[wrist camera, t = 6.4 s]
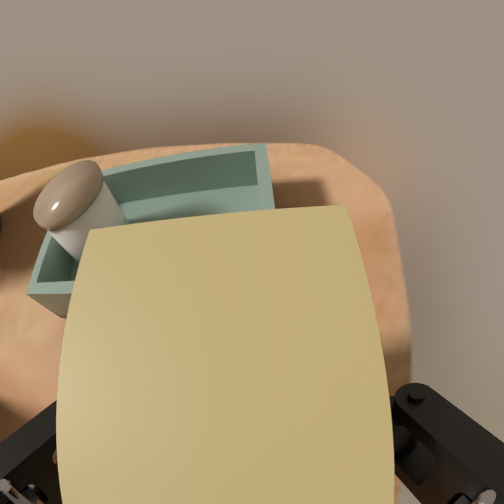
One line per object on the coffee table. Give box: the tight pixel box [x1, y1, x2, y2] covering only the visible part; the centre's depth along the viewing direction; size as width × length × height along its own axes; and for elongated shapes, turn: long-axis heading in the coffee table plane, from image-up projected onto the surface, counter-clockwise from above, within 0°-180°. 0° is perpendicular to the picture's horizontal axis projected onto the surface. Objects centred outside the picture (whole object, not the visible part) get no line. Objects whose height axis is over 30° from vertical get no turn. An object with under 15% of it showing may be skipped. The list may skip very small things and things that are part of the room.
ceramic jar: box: [33, 160, 130, 263], centre depth 20 cm, size 6×6×8 cm
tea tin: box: [56, 205, 394, 504], centre depth 9 cm, size 6×7×13 cm
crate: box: [26, 143, 275, 318], centre depth 22 cm, size 20×13×5 cm, turn 93°
